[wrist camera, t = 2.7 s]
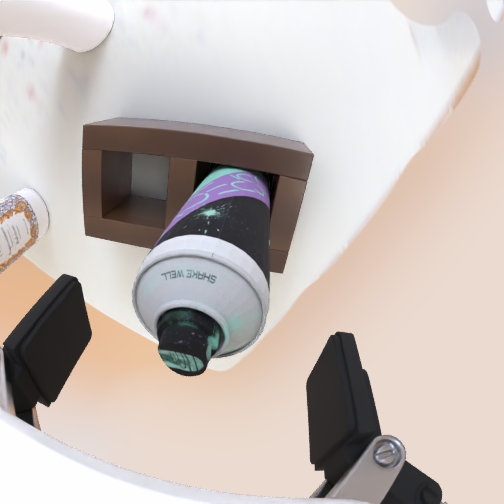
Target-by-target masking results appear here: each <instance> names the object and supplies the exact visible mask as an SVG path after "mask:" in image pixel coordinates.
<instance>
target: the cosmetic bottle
mask: <svg viewBox="0 0 504 504" xmlns="http://www.w3.org/2000/svg"><path fill="white" fill-rule="evenodd" d="M113 22H114V11H113V8H112V7H111V5H110V4H109V3H107V2H105V1H101V0H0V36H11V37H20V38H28V39H35V40H40V41H45V42H49V43H54V44H57V45H60V46H63V47H66V48H68V49H71V50H73V51H75V52H87V51H89V50H92V49H93V48H95V47H97V46H98V45H99V44H100V43H101V42H102V41H103V40H104V39H105V38H106V37H107V35H108V34H109V32H110V30H111V28H112V25H113Z"/></svg>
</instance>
